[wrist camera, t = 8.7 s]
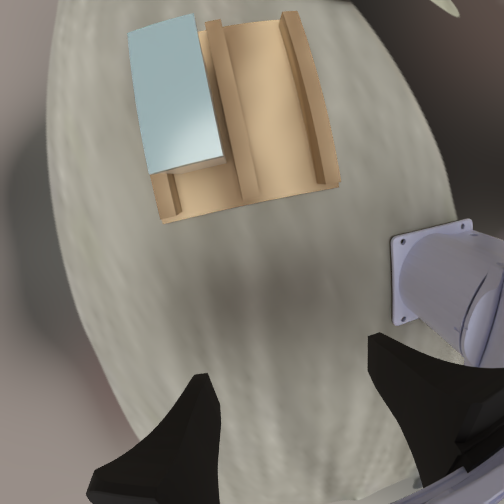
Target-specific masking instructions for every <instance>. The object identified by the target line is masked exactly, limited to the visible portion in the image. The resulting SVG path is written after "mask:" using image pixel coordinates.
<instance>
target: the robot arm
mask: <svg viewBox="0 0 504 504" xmlns="http://www.w3.org/2000/svg"><path fill="white" fill-rule="evenodd" d="M461 225H462V227H461ZM402 239H403V243H402V244H401V243H400V242H401V240H402ZM391 258H392V286H393V317H392V321H393V323H394V324H395V325H396V326H398V325H401V324H404V323H407V322H410V321H412V320H415V319H418V318H420V319H421V320H422V321H424V322H425V323H426V324H427V325H428V326H429V327H431V328H432V329H433V330H434V331H435V332H436V333H437V334H438V335H440V336H441V337H442V338H443V339H444V340H445V341H446V342H447V343H449V344H450V345H451V346H452V347H453V348H454V349H455V350H456V351H457V352H458V353H459V354H461V355H462V356H463V357H464V365H459V364H455V363H450V362H447V361H443V360H440V359H437V358H434V357H431V356H429V355H426V354H424V353H421V352H419V351H417V350H415V349H412V348H410V347H408V346H406V345H404V344H402V343H400V342H398V341H396V340H394V339H392V338H390V337H388V336H386V335H384V334H382V333H380V332H379V333H376V334H373V335H370V336H368V372H369V375H370V377H371V379H372V381H373V383H374V385H375V387H376V389H377V391H378V392H379V394H380V395H381V397H382V398H383V400H384V401H385V403H386V405H387V406H388V408H389V409H390V411H391V412H392V414H393V415H394V417H395V418H396V420H397V422H398V424H399V425H400V427H401V429H402V432H403V434H404V436H405V438H406V440H407V443H408V445H409V448H410V450H411V452H412V455H413V457H414V460H415V463H416V466H417V469H418V472H419V475H420V478H421V481H422V485H423V489H421V490H419V491H417V492H415V493H413V494H411V495H409V496H407V497H404V498H402V499H400V500H397V501H395V502H393V503H390V504H497V503H498V502H499V501H501V500H502V499H503V498H504V240H501V239H498V238H496V237H493V236H490V235H487V234H484V233H480V232H477V231H474V230H473V224H472V220H471V219H463V220H459V221H455V222H451V223H447V224H443V225H439V226H435V227H431V228H427V229H423V230H418V231H414V232H410V233H406V234H402V235H397V236H394V237H393V238H392V240H391ZM403 317H404V318H403ZM402 318H403V319H402ZM401 319H402V320H401ZM220 430H221V412H220V403H219V401H218V398H217V396H216V393H215V391H214V388H213V386H212V383H211V381H210V378H209V375H208V373H204V374H196V375H194V376H193V377H192V379H191V380H190V382H189V384H188V385H187V387H186V388H185V390H184V391H183V393H182V394H181V396H180V397H179V399H178V400H177V402H176V403H175V404H174V406H173V407H172V409H171V410H170V411H169V412H168V414H167V415H166V416H165V418H164V419H163V420H162V421H161V422H160V423H159V425H158V426H157V427H156V428H155V429H154V430H153V431H152V432H151V433H150V434H149V435H148V436H147V437H145V438H144V439H143V440H142V441H141V442H139V443H138V444H137V445H136V446H135V447H133V448H132V449H131V450H129V451H128V452H126V453H125V454H123V455H122V456H120V457H119V458H117V459H115V460H114V461H112V462H110V463H108V464H106V465H104V466H102V467H100V468H98V469H96V470H95V471H94V473H93V476H92V478H91V481H90V484H89V487H88V489H87V492H86V496H87V497H88V499H89V501H90V502H92V503H93V504H220V501H219V488H218V454H219V442H220Z"/></svg>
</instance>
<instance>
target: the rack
mask: <svg viewBox="0 0 504 504" xmlns="http://www.w3.org/2000/svg"><path fill="white" fill-rule="evenodd" d="M205 26H206V30H205V31H200V32H198V36H199V40H200V44H201V48H202V51H203V55H204V59H205V62H206V66H207V71H208V76H209V81H210V85H211V90H212V95H213V100H214V104H215V109H216V114H217V119H218V123H219V128H220V133H221V138H222V142H223V147H224V152H225V156H226V161H227V163H226V164H222V165H217V166H213V167H209V168H204V169H200V170H196V171H192V172H188V173H184V174H166V173H158V174H155V175H150V177H151V181H152V186H153V190H154V195H155V199H156V203H157V207H158V211H159V215H160V219H162V222H163V224H166V223H170V222H174V221H178V220H182V219H187V218H191V217H195V216H199V215H203V214H208V213H212V212H217V211H221V210H226V209H230V208H235V207H239V206H244V205H249V204H253V203H258V202H263V201H268V200H273V199H278V198H283V197H288V196H293V195H298V194H304V193H309V192H314V191H320V190H326V189H331V188H337V187H339V185H338V182H341V177H340V172H339V166H338V161H337V156H336V151H335V146H334V141H333V136H332V131H331V127H330V122H329V118H328V114H327V109H326V105H325V101H324V97H323V93H322V89H321V86H320V82H319V78H318V75H317V71H316V67H315V64H314V61H313V57H312V54H311V51H310V47H309V44H308V41H307V38H306V35H305V32H304V29H303V26H302V23H301V20H300V17H299V14H298V11H286V12H282V15H281V18H280V20H270V21H260V22H252V23H244V24H237V25H231V26H225V27H222V23H221V19H219V20H213V21H208V22H205Z"/></svg>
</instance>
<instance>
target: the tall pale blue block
mask: <svg viewBox="0 0 504 504" xmlns="http://www.w3.org/2000/svg"><path fill="white" fill-rule="evenodd" d="M127 34H128V45H129V54H130V63H131V72H132V79H133V87H134V94H135V101H136V107H137V113H138V119H139V125H140V131H141V136H142V142H143V147H144V152H145V157H146V162H147V167H148V172H149V175H155V174H158V173H166V174H184V173H188V172H192V171H196V170H200V169H204V168H209V167H213V166H217V165H222V164H226V163H227V161H226V156H225V152H224V147H223V142H222V138H221V133H220V128H219V123H218V119H217V114H216V109H215V104H214V100H213V95H212V90H211V85H210V81H209V76H208V71H207V66H206V62H205V59H204V55H203V51H202V48H201V44H200V40H199V36H198V31H197V26H196V21H195V17H194V13H193V14H188V15H184V16H180V17H177V18H173V19H169V20H166V21H162V22H159V23H156V24H152V25H149V26H146V27H143V28H140V29H137V30H135V31H132V32H129V33H127Z"/></svg>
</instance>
